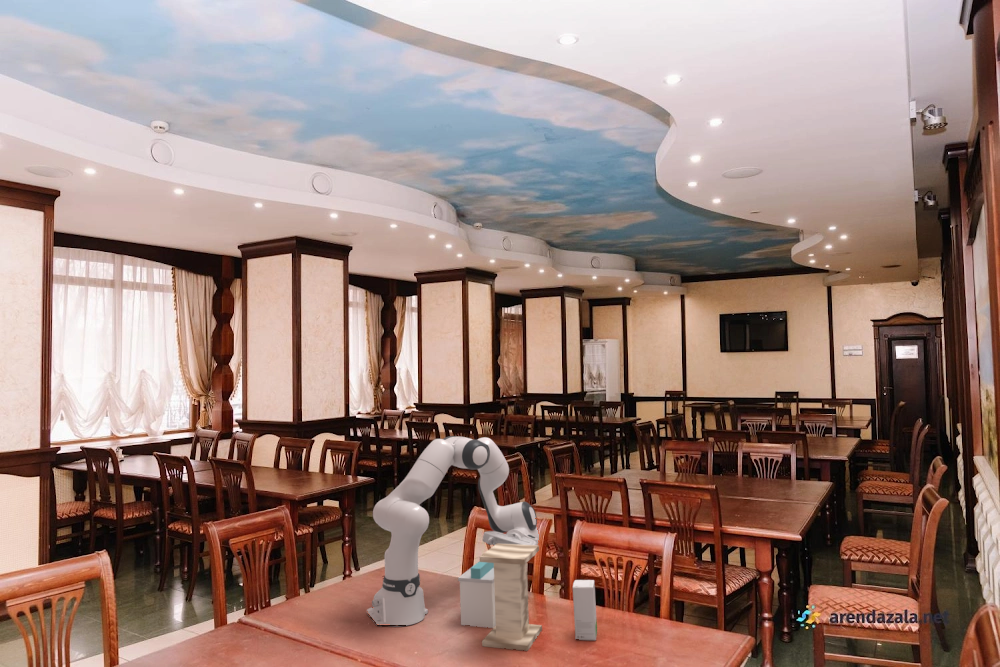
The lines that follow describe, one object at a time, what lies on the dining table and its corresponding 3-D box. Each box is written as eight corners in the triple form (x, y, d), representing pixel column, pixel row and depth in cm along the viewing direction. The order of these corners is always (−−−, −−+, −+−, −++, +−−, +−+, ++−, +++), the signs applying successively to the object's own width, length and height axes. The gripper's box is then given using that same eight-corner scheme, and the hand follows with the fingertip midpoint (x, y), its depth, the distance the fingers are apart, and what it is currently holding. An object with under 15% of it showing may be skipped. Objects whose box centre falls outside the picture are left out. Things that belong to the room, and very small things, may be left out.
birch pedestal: (499, 626, 211) (496, 543, 213) (542, 630, 207) (538, 545, 208) (482, 646, 196) (479, 556, 198) (527, 650, 192) (524, 559, 193)
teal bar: (495, 557, 236) (495, 548, 236) (503, 558, 235) (503, 549, 235) (471, 578, 213) (470, 568, 213) (480, 578, 212) (480, 568, 212)
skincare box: (595, 641, 197) (593, 587, 198) (573, 640, 198) (571, 587, 199) (597, 630, 205) (595, 579, 206) (576, 629, 206) (574, 578, 207)
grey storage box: (477, 607, 229) (476, 563, 230) (510, 610, 225) (508, 565, 226) (459, 625, 213) (458, 577, 214) (493, 628, 209) (492, 580, 210)
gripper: (493, 525, 254) (477, 529, 242) (542, 539, 245) (527, 544, 233) (490, 541, 254) (473, 546, 241) (539, 557, 244) (524, 562, 232)
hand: (500, 545), depth 237 cm, fingers open, 8 cm apart
